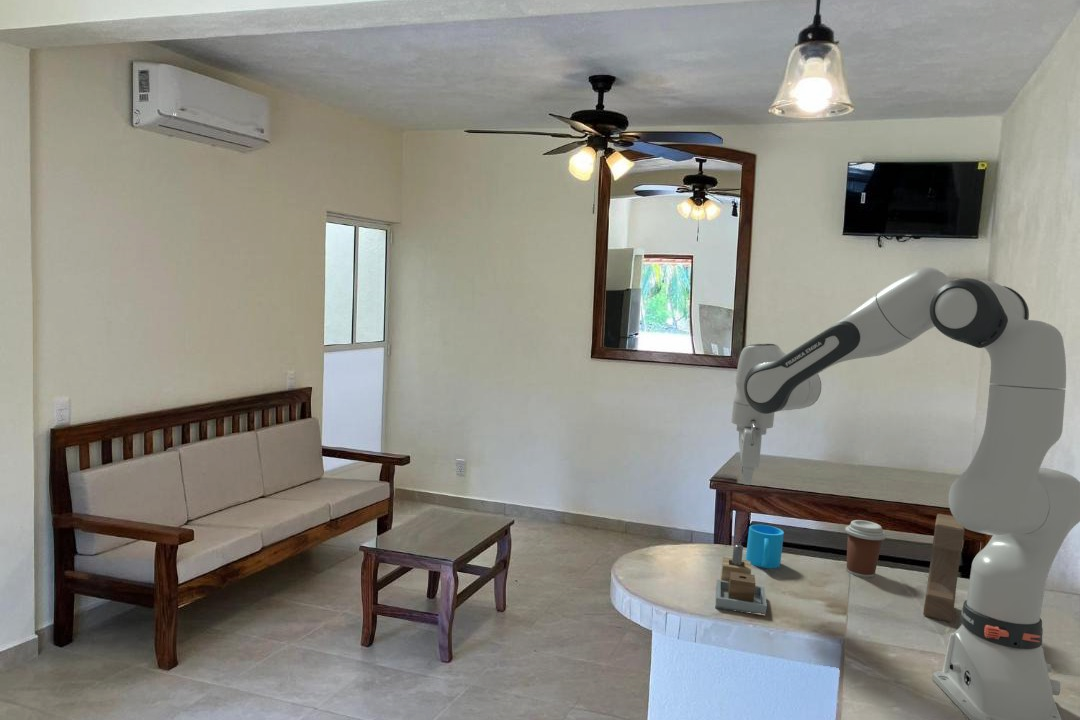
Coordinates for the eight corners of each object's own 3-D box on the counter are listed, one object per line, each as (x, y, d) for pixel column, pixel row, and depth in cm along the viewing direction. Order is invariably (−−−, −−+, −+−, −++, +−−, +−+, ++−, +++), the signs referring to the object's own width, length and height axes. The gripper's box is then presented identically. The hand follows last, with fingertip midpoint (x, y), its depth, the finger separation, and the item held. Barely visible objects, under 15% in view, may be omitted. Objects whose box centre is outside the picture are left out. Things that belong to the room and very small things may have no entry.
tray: (765, 616, 167) (766, 605, 166) (715, 608, 169) (716, 597, 168) (763, 596, 177) (764, 586, 177) (715, 589, 179) (716, 579, 179)
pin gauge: (738, 587, 182) (743, 548, 181) (729, 586, 182) (733, 546, 181) (738, 584, 184) (743, 545, 183) (729, 582, 184) (733, 543, 183)
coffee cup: (851, 563, 205) (857, 516, 204) (887, 575, 198) (893, 526, 197) (833, 570, 199) (839, 521, 197) (870, 582, 192) (876, 532, 191)
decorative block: (951, 623, 171) (964, 529, 169) (921, 616, 174) (934, 523, 172) (954, 606, 181) (966, 518, 179) (925, 600, 183) (937, 512, 181)
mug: (745, 554, 205) (748, 522, 204) (779, 559, 203) (782, 527, 203) (746, 570, 193) (749, 536, 193) (782, 575, 192) (786, 541, 191)
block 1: (748, 592, 179) (751, 569, 179) (720, 587, 181) (723, 565, 180) (747, 582, 185) (750, 561, 185) (720, 578, 186) (723, 557, 186)
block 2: (752, 606, 170) (755, 583, 169) (728, 602, 171) (730, 579, 170) (752, 597, 175) (754, 575, 174) (728, 594, 176) (730, 571, 175)
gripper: (770, 426, 168) (762, 492, 170) (765, 412, 188) (758, 471, 190) (738, 422, 170) (731, 488, 171) (737, 408, 189) (730, 467, 191)
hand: (745, 479), depth 180 cm, fingers open, 8 cm apart
